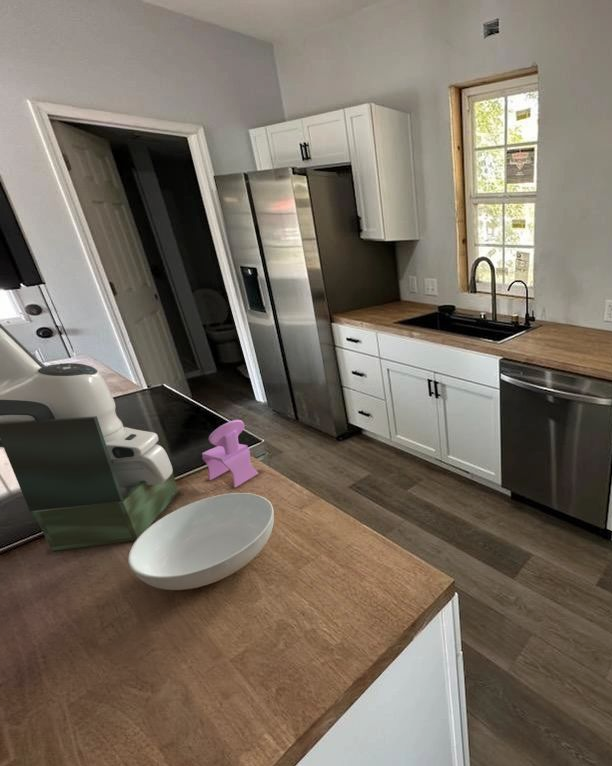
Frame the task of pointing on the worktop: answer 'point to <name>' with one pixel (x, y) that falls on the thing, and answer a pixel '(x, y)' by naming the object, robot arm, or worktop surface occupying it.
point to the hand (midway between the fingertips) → (120, 503)
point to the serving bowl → (202, 541)
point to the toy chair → (229, 453)
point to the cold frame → (106, 518)
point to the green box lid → (60, 462)
